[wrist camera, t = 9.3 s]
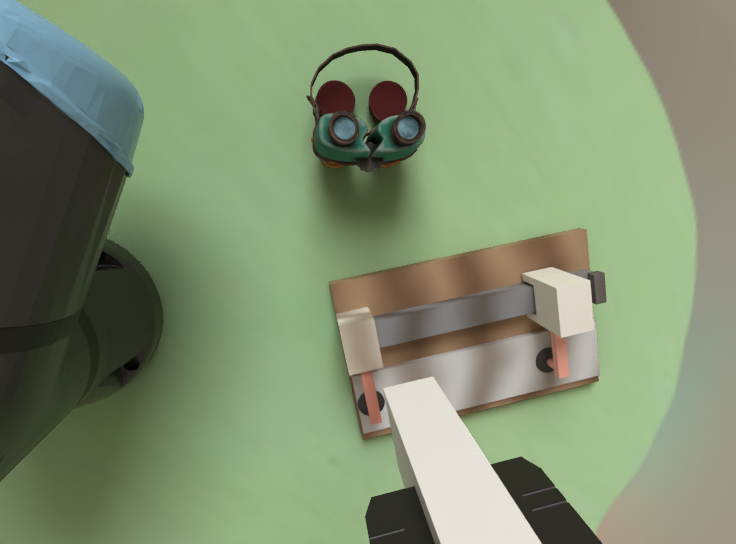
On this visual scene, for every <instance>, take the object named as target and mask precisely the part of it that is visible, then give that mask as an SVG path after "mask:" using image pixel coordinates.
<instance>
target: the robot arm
mask: <svg viewBox="0 0 736 544" xmlns="http://www.w3.org/2000/svg"><path fill="white" fill-rule="evenodd" d="M143 119H144V108H143V103H142V100H141V98H140V96H139V93H138V91H137V90H136V88H135V87H134V86H133V85H132V83H131V82H130V81H129V80H128V78H127V77H126V76H124V75H123V74H122V73H121V72H120V71H119V70H118V69H117V68H116V67H114V66H113V65H112V64H111V63H109V62H108V61H107V60H105V59H104V58H103V57H101V56H100V55H99V54H97V53H96V52H94V51H93V50H92V49H90V48H89V47H87V46H86V45H85V44H83V43H82V42H80V41H79V40H77V39H76V38H74V37H73V36H71V35H70V34H68V33H67V32H65V31H64V30H62V29H61V28H59V27H58V26H56V25H55V24H53V23H51V22H50V21H48V20H47V19H45V18H44V17H42V16H40V15H39V14H37V13H36V12H34V11H33V10H31V9H29V8H28V7H26V6H24V5H23V4H21V3H20V2H18V1H16V0H0V481H1V480H2V479H3V478H4V477H5V476H6V475H7V474H8V473H9V472H10V471H11V470H12V469H13V468H14V467H15V466H16V465H17V464H18V463H19V462H20V461H21V460H22V459H23V458H24V457H25V456H26V455H27V454H28V453H29V452H30V451H31V450H32V449H33V448H34V447H35V446H36V445H37V444H38V443H39V442H40V441H41V440H42V439H43V438H44V437H45V436H46V435H47V434H48V433H49V432H50V431H51V430H52V429H53V428H54V427H55V426H56V425H57V424H58V423H59V422H60V421H61V420H62V419H63V418H64V417H65V416H66V415H67V414H68V413H69V412H70V411H71V410H72V409H75V408H78V407H81V406H84V405H86V404H89V403H92V402H95V401H98V400H101V399H103V398H106V397H108V396H110V395H112V394H113V393H115V392H117V391H118V390H120V389H121V388H123V387H124V386H125V385H127V384H128V383H129V382H130V381H131V380H132V379H133V378H134V377H135V376H136V375H137V374H138V373H139V372H140V371H141V370H142V368H143V367H144V366H145V365H146V364H147V363H148V361H149V360H150V358H151V357H152V355H153V353H154V351H155V350H156V347H157V345H158V342H159V339H160V335H161V330H162V307H161V302H160V298H159V295H158V292H157V289H156V287H155V285H154V283H153V281H152V279H151V277H150V276H149V274H148V273H147V271H146V270H145V268H144V267H143V266H142V265H141V264H140V263H139V261H138V260H137V259H136V258H135V257H133V256H132V255H131V254H130V253H129V252H128V251H126V250H125V249H124V248H122V247H121V246H119V245H118V244H116V243H114V242H112V241H110V240H108V239H106V237H107V234H108V231H109V228H110V225H111V222H112V219H113V216H114V213H115V210H116V207H117V204H118V201H119V198H120V195H121V193H122V190H123V187H124V184H125V181H126V178H127V177H129V178H130V177H131V176H132V174H133V170H134V167H133V164H132V159H133V156H134V152H135V149H136V145H137V141H138V138H139V134H140V131H141V127H142V124H143ZM383 391H384V396H385V401H386V406H387V411H388V416H389V421H390V426H391V431H392V437H393V442H394V447H395V452H396V457H397V462H398V467H399V471H400V474H401V478H402V481H403V484H404V487H405V489H401V490H398V491H394V492H390V493H386V494H382V495H379V496H375V497H371V500H370V503H369V506H368V509H367V513H366V516H365V518H366V524H367V530H368V535H369V541H370V544H602V543H601V541H600V540H599V539H598V538H597V536H596V535H595V534H594V533H593V532H592V530H591V529H590V528H589V527H588V525H587V524H586V523H585V522H584V521H583V519H582V518H581V517H580V516H579V514H578V513H577V512H576V511H575V510H574V508H573V507H572V506H571V505H570V503H567V501H566V499H565V497H564V496H563V495H562V494H561V492H560V491H559V490H558V489H557V488H555V485H554V484H553V483H552V481H551V480H550V479H549V478H548V477H547V475H546V474H545V473H544V472H543V470H542V469H541V468H539V467H538V466H536V465H534V464H533V463H531V462H529V461H527V460H526V459H524V458H522V457H518V458H514V459H510V460H506V461H502V462H498V463H495V464H491V465H490V463H489V462H488V460H487V459H486V457H485V456H484V454H483V452H482V451H481V449H480V448H479V446H478V445H477V443H476V442H475V440H474V439H473V437H472V436H471V434H470V432H469V431H468V429H467V428H466V426H465V425H464V423H463V422H462V420H461V419H460V417H459V416H458V414H457V413H456V411H455V409H454V408H453V406H452V405H451V403H450V402H449V400H448V399H447V397H446V396H445V394H444V393H443V391H442V389H441V388H440V386H439V385H438V383H437V382H436V380H435V379H434V377H433V376H432V377H428V378H424V379H420V380H416V381H412V382H407V383H403V384H399V385H395V386H391V387H386V388H383Z"/></svg>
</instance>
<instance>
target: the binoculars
mask: <svg viewBox="0 0 736 544" xmlns="http://www.w3.org/2000/svg"><path fill="white" fill-rule="evenodd" d="M366 50H377V51H382V52H386V53H390V54H393V55H394V56H395V57H396V58H398V59H399V60H400V61H401V62H403V63H404V64H405V65H406V66H407V67H408V68H409V70H410V71H411V73H412V75H413V77H414V79H415V93H414V97H413V101H412V105H411V107H410V108H409V110H408V111H405V108H406V105H407V96H406V93H405V91H404V89H403V88H402V87H401V86H400V85H399V84H397V83H395V82H392V81H383V82H381V83H379V84H377V85H376V86H375V87H374V88H373V89H372V91H371V93H370V96H369V109H370V112H371V115H372V116H373V118H374V119H375V121H376V122H377V123H378V125H377V126H376V127H375V128H372V131H370V132H368V133H367V131H368V129H367V126H366V124H365V123H364V122H363V121H362V120H361V119H359V118H357V117H355V116H354V115H353V114H352V112H353V110H354V106H355V97H354V94H353V92H352V90H351V89H350V88H349V87H348V86H347V85H346V84H345V83H343V82H340V81H336V80H335V81H328V82H326V83H325V84H323V85H322V86H321V88H320V89H319V91H318V93H317V96H316V99H315V100H314V99H313V97H312V86H313V84H314V82H315V80H316V78H317V76H318V74H319V72H320V71H321V70H322V69H323V68H325V67H326V66H327V65H328V64H329V63H330V62H331V61H332V60H334V59H336V58H338V57H341V56H343V55H345V54H348V53H353V52H357V51H366ZM418 90H419V74H418V72H417V70H416V68H415V67H414V65H413V63H412V61H410V60H409V59H408V58H407V57H405V56H404V55H403V54H402V53H401V52H399V51H398V50H397V49H396V48H393V47H389V46H385V45H381V44H362V45H357V46H352V47H348V48H345V49H343V50H341V51H339V52H336V53H334V54H332V55H331V56H330V57H329V58H328V59H327V60H326V61H325V62H324V63H322V64H321V65H320V66H319V67H318V69H317V71H316V73H315V75H314V77H313V80H312V82H311V87H310V96H306V97H307V99H308V101H310V103H311V104H312V106H313V115H314V116H315V121H316V126H315V128H314V131H313V137H312V138H311V141H312V142H313V151H314V154H315V155H316V156H317V157H318V158H319V159H320V160H321V161H322V163H323V164H324V165H326V166H327V167H329V168H340V167H342V166H343V165H357V167H360V170H362V171H363V170H364V171H366V172H370V171H372V172H373V171H375V170H376V169H378V168H379V167H383V168H387V167H390V166H392V165H394V164H396V163H399V162H400V161H403V160H405V159H407V158H409V157H410V156H412V155H413V154H414V153H415V152H416V151H417V148H418V147H419V146H420V145H421V144H422V142H423V140H424V137H425V129H426V124H425V120H424V118H423V116H422V115H421V114H420V113H418V112H416V111H415V110H416V105H417V101H418V98H417V95H418ZM319 116H320V119H319ZM368 135H369V136H368ZM366 136H368V138H367V140H366V142H365V143H364V141H363V140H364V139H365V137H366Z"/></svg>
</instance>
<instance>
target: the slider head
mask: <svg viewBox="0 0 736 544" xmlns="http://www.w3.org/2000/svg"><path fill="white" fill-rule="evenodd" d="M522 278H523V281H525V282H527V283H529V284H532V285H533V287H534V296H535V305H536V312H534V313H529V314H527V317H528V318H530V319H531V320H533V321H535V322H536V323H538V324H539V325H541V326H543V327H544V328H546V329H548V330H549V331H550V333H551V343H552V353H553V358H548V359H547V361H546V363H547V365H549V366H550V367H551V368H553V369H554V372H555V376H557V377H558V378H559V379H560V378H564V377H568V376H569V366H568V356H567V346H566V337H567V336H571V335H575V334H579V333H584V332H588V331H592V330H594V320H593V308H592V296H591V283H590V280H588V279H585V278H582V277H579V276H576V275H573V274H570V273H568V272H565V271H562V270H559V269H556V268H553V267H549V268H544V269H540V270H535V271H531V272H526V273H522Z"/></svg>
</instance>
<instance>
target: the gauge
mask: <svg viewBox="0 0 736 544" xmlns="http://www.w3.org/2000/svg"><path fill="white" fill-rule="evenodd" d="M549 267H553V268H556V269H559V270H562V271H565V272H568V273H570V274H573V275H576V276H579V277H582V278H585V279H588V280H590V283H591V296H592V303H594V304H600V303H605V302H606V289H605V275H604V273H603V272H599V271H595V272H593V271H590V268H589V255H588V243H587V231H586V229H580V228H578V229H574V230H569V231H564V232H560V233H555V234H550V235H546V236H541V237H536V238H532V239H527V240H522V241H518V242H513V243H508V244H504V245H499V246H494V247H490V248H485V249H481V250H476V251H471V252H467V253H462V254H457V255H453V256H448V257H443V258H439V259H434V260H429V261H425V262H420V263H415V264H411V265H406V266H401V267H397V268H392V269H387V270H383V271H378V272H373V273H369V274H364V275H359V276H355V277H350V278H345V279H341V280H336V281H331V282H329V284H330V288H331V293H332V298H333V302H334V307H335V312H336V317H337V321H338V326H339V331H340V335H341V340H342V345H343V349H344V354H345V359H346V363H347V368H348V373H349V377H350V382H351V387H352V392H353V396H354V401H355V406H356V410H357V415H358V420H359V424H360V429H361V434H362V438H363V440H364V439H368V438H372V437H376V436H380V435H384V434H388V433H392V431H391V426H390V421H389V416H388V411H387V406H386V401H385V396H384V391H383V388H386V387H391V386H395V385H399V384H403V383H407V382H412V381H416V380H420V379H424V378H428V377H432V376H433V377H434V379H435V380H436V382H437V383H438V385H439V386H440V388H441V389H442V391H443V393H444V394H445V396H446V397H447V399H448V400H449V402H450V403H451V405H452V406H453V408H454V409H455V411H456V413H457V414H458V416H461V415H465V414H469V413H473V412H477V411H481V410H485V409H489V408H493V407H497V406H501V405H505V404H509V403H513V402H517V401H521V400H525V399H529V398H533V397H537V396H541V395H545V394H549V393H553V392H557V391H561V390H565V389H569V388H573V387H577V386H581V385H585V384H589V383H593V382H597V381H599V379H598V376H599V375H600V371H599V359H598V346H597V334H596V321H595V320H594V317H593V320H594V330H592V331H588V332H584V333H579V334H575V335H571V336H567V337H566V346H567V356H568V366H569V376H568V377H564V378H560V379H559V378H558V377H557V376H555V372H554V369H553V368H551V367H550V366H549V365H547V363H546V361H547V359H548V358H553V353H552V343H551V333H550V331H549V330H548V329H546V328H544V327H543V326H541V325H539V324H538V323H536V322H535V321H533V320H531V319H530V318H528V317H527V314H529V313H534V312H536V305H535V296H534V287H533V285H532V284H529V283H527V282H525V281H523V278H522V273H526V272H531V271H535V270H540V269H544V268H549ZM592 308H593V305H592Z"/></svg>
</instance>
